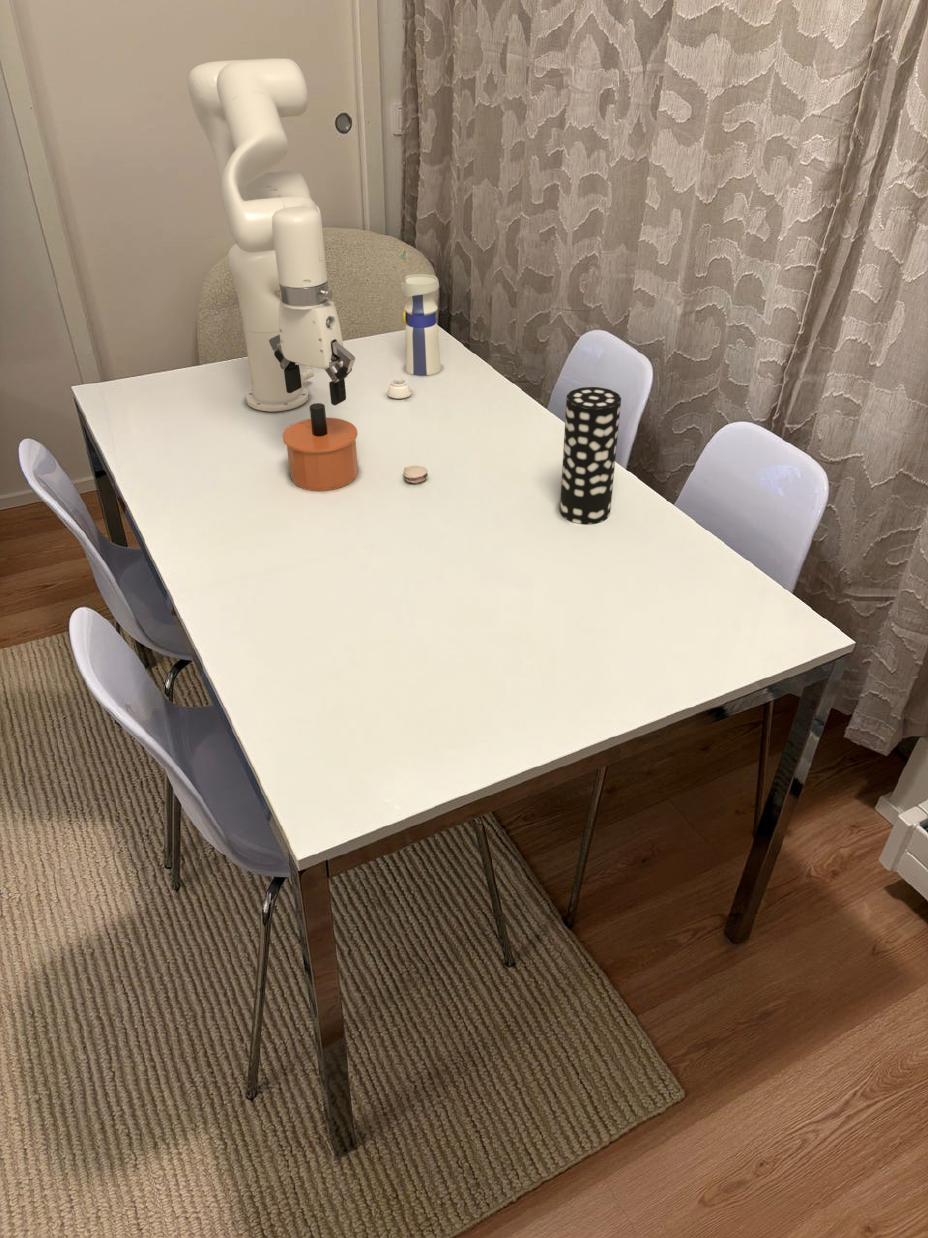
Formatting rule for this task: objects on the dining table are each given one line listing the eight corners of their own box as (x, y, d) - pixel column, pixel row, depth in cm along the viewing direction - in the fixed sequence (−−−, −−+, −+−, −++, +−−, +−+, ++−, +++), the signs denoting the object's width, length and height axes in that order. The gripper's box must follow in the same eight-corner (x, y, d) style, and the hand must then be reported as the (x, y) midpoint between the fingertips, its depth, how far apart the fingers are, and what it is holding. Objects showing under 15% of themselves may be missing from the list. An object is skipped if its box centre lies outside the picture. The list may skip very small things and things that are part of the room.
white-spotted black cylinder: (616, 504, 157) (628, 392, 145) (601, 528, 151) (611, 412, 139) (569, 494, 160) (577, 383, 148) (552, 517, 154) (558, 403, 142)
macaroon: (413, 488, 162) (412, 475, 160) (395, 478, 165) (394, 465, 163) (432, 480, 164) (432, 467, 163) (414, 470, 167) (413, 457, 166)
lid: (316, 417, 169) (312, 385, 166) (372, 433, 164) (370, 401, 160) (267, 444, 161) (262, 411, 157) (325, 462, 155) (321, 428, 151)
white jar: (386, 400, 192) (410, 400, 192) (385, 386, 190) (410, 386, 190) (388, 390, 196) (412, 390, 196) (387, 376, 194) (411, 376, 194)
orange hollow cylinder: (320, 453, 173) (316, 415, 168) (371, 469, 168) (368, 431, 163) (277, 479, 165) (271, 440, 160) (329, 497, 160) (324, 457, 155)
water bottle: (399, 375, 202) (393, 255, 187) (408, 360, 209) (402, 243, 194) (437, 377, 201) (433, 257, 186) (444, 362, 208) (441, 245, 193)
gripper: (363, 295, 146) (370, 399, 156) (279, 278, 153) (292, 378, 164) (332, 308, 141) (342, 415, 151) (247, 290, 148) (262, 393, 158)
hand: (316, 396), depth 157 cm, fingers open, 9 cm apart
